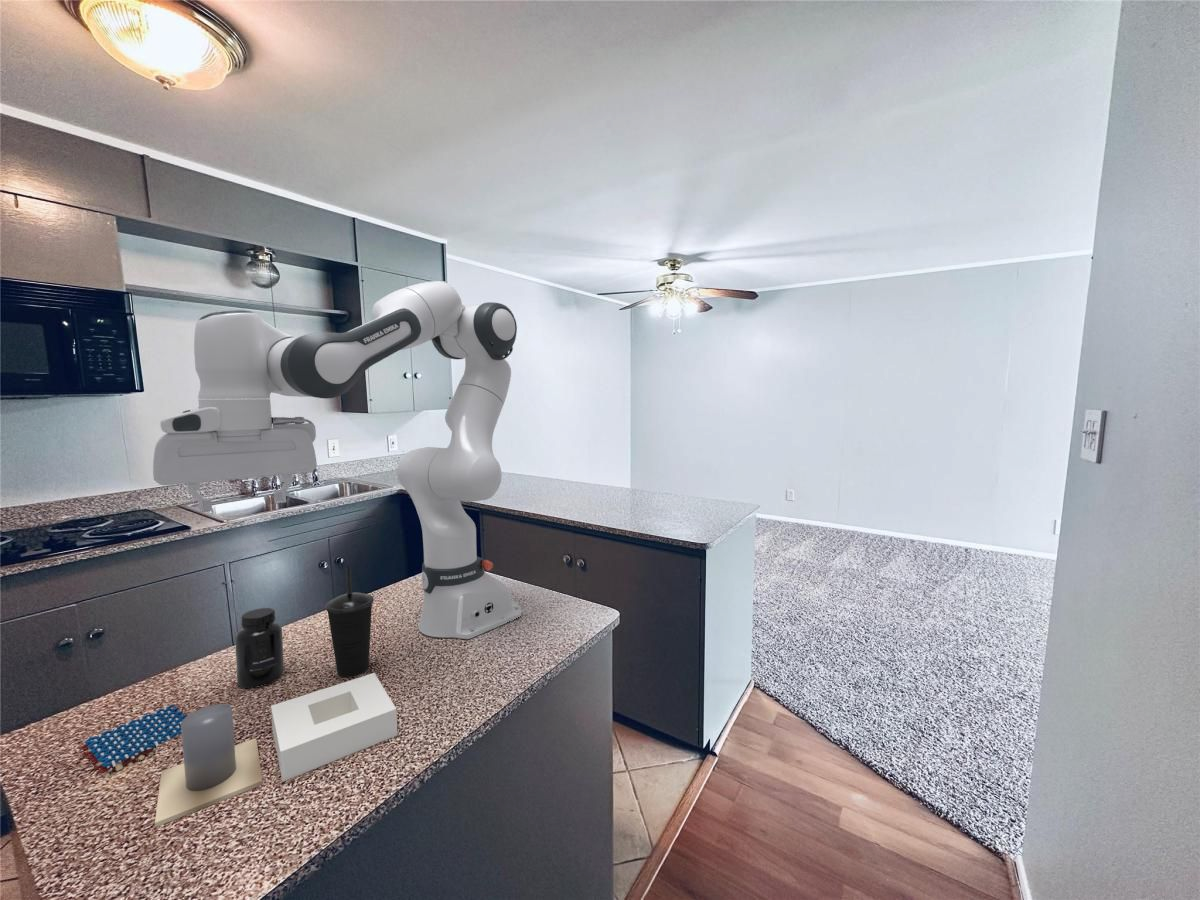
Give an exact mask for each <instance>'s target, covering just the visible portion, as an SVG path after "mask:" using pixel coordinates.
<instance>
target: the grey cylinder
mask: <svg viewBox="0 0 1200 900" xmlns="http://www.w3.org/2000/svg"><path fill="white" fill-rule="evenodd" d="M181 732H182V734H181V742H182V744H181V745H182V753H183V763H184V768H185V779H186V788H187V789H188V790H190V791H202V790H206V789H209V788H212V787H215V786H217V785H219V784H221V783H222V782H224V781H225V780H227V779H228V778H229V777H230V776H232V774H233V773H234V772H235V770H236V757H235V745H236V744H235V731H234V719H233V708H232V705H229V704H226V703H225V704H224V703H216V704H211V705H207V706H204V707H202V708H199V709H197V710H195V711H193V712H191V713H190V714H188V715H187V717H184V718H183V721H182V722H181Z"/></svg>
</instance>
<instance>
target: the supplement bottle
mask: <svg viewBox="0 0 1200 900" xmlns="http://www.w3.org/2000/svg"><path fill="white" fill-rule="evenodd" d="M275 614H276V611H275V609H274V608H271V607H261V608H256V609H255V608H254V609H252V610H248V611H246V612H244V613H243V614H242V615H241V624H240V626H241V629H240V630H239V631H238V632H237V634H236V636H235V638H234V639H235V640H234V642H235V644H234V645H235V660H236V662H235V664H236V665H235V666H236V679H237V684H238V685H239V686H240V687H242V688H245V687H246V688H245V689H247V688H248V689H249V688H250V689H251V687H254V688H258V687H257V686H260V687H262V686H261V685H263V686H265V685H264V684H266V685H268V683H269V684H271V683H273V682H275V681H277V680H278V679H280V677H281V676H282V675H283V673H284V664H285V663H284V647H283V646H284V645H283V644H284V641H283V628H282V626H281V624H279V623H277V622H275V621H276V615H275ZM276 679H277V680H276ZM274 680H275V681H274ZM272 681H273V682H272ZM270 682H271V683H270Z"/></svg>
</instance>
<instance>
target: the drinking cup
mask: <svg viewBox="0 0 1200 900" xmlns="http://www.w3.org/2000/svg"><path fill="white" fill-rule="evenodd" d="M345 571H346V593H344V594H340V595H339V596H337V597H335V598H332V599H331V600H329V601H327V602H326V604H325V606H324V608H325V611H326V612H327V616H328V623H329V629H330V637H331V641H332V642H331V643H332V647H333V653H334V660H335V667H336V672H337V675H338V677H340V678H354V677H357V676H359V675H362V674H363V673H365V672H367V671H368V669H369V664H370V662H369V661H370V645H371V632H372V631H371V629H372V628H371V627H372V608H373V603H374V600H375V599H374V596H373V595H371V594H369V593H363V592H352V576H351V575H352V572H351V571H352V569H351V566H350V565H347V566H346V567H345Z"/></svg>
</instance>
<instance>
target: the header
mask: <svg viewBox="0 0 1200 900" xmlns="http://www.w3.org/2000/svg"><path fill="white" fill-rule="evenodd" d="M270 709H271V711H270V712H271V724H272V726H271V727H272V736H273V741H274V746H275V750H276V756H277V762H278V767H279V772H280V776H281V781H282V782H285V781H288V780H290V779H293V778H295V777H298V776H300V775H303V774H306V773H307V772H310V771H312V770H315V769H317V768H320V767H322V766H325V765H327V764H330V763H333V762H335V761H337V760H340V759H343V758H346V757H348V756H350V755H353V754H355V753H356V752H360V751H362V750H364V749H367V748H370V747H372V746H374V745H377V744H379V743H381V742H385V741H387V740H389V739H392V738H394V737H396V736H398V718H397V717H398V716H397V707H396V706H395V704H394V703H393V701H392V699H391V697H390V696H389V694H388V693H387V691H386V690H385V688H384V686H383V684H382V683H381V681H380V680H379V678H378V676H377V674H376V673H375V672H373V673H369V674H367V675H366V674H365V675H363V676H359V677H357V678H354V679H351V680H346V681H344V682H342V683H338V684H333V685H331V686H329V687H326V688H322V689H319V690H316V691H313V692H309V693H307V694H303V695H301V696H298V697H294V698H290V699H287V700H283V701H281V702H279V703H275V704H271V706H270Z"/></svg>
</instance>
